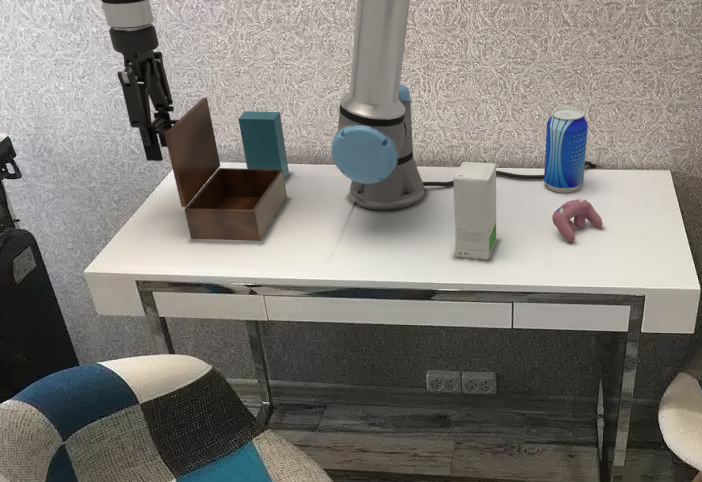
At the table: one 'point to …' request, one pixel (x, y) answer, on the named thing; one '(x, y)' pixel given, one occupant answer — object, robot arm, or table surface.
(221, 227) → the chest
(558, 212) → the video game controller
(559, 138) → the beer can
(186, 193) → the lid
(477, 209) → the cosmetic box
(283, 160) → the block
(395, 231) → the table surface
